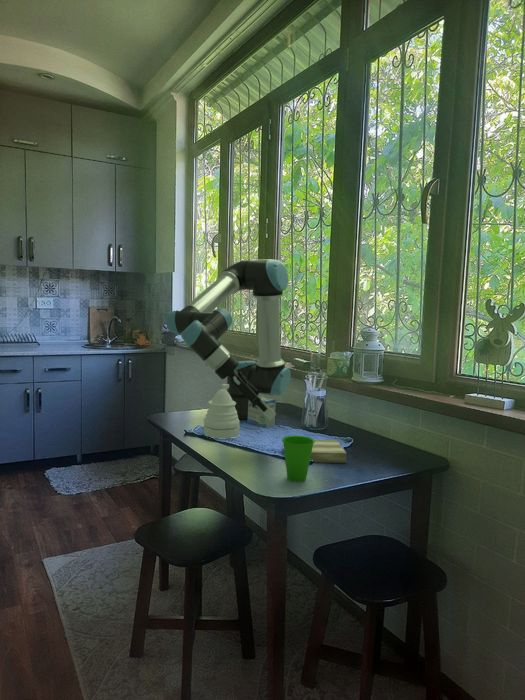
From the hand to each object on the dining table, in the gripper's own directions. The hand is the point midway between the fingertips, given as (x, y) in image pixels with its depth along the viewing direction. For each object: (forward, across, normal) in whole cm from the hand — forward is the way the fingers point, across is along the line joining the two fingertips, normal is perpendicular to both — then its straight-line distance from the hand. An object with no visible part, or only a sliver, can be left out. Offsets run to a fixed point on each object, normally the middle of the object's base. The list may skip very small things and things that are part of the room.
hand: (271, 413), depth 156 cm
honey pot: (-2, -21, -21) cm, 30 cm away
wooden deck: (+19, +1, 0) cm, 19 cm away
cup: (+13, +22, -5) cm, 26 cm away
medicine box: (0, 0, -5) cm, 5 cm away
